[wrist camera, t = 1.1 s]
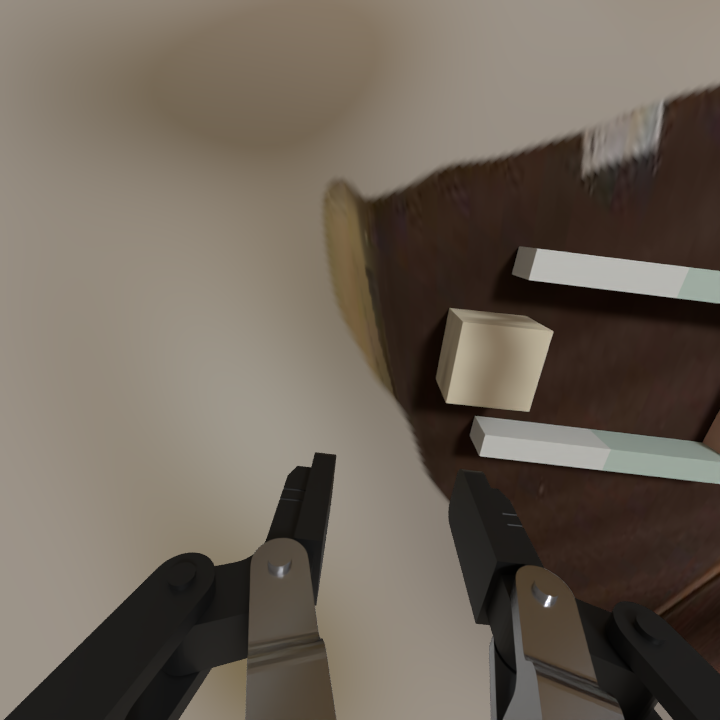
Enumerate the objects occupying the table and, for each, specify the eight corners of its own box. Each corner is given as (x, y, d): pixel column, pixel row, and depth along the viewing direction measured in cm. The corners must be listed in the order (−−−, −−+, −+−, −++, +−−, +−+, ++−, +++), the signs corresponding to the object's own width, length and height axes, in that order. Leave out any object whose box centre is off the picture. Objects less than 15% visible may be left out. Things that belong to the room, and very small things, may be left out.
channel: (816, 283, 26) (870, 289, 23) (714, 464, 31) (747, 487, 29) (519, 246, 26) (537, 248, 23) (469, 435, 31) (479, 456, 28)
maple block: (525, 315, 28) (553, 331, 23) (506, 385, 30) (529, 411, 25) (448, 307, 27) (463, 321, 23) (435, 378, 30) (446, 403, 25)
